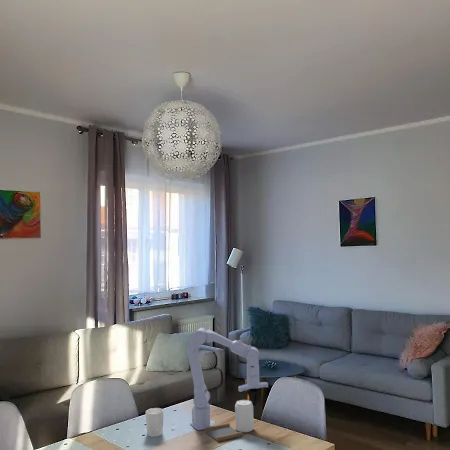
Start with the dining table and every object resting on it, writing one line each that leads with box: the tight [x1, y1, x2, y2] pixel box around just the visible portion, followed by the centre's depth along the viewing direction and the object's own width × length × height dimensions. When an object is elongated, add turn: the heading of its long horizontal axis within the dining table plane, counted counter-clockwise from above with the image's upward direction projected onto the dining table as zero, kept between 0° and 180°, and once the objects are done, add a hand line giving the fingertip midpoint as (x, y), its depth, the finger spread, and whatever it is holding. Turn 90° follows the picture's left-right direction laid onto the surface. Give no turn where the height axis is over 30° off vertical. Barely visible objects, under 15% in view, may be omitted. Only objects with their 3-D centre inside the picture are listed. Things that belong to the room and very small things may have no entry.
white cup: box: [145, 407, 165, 438], centre depth 203 cm, size 8×8×10 cm
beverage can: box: [234, 399, 255, 433], centre depth 206 cm, size 8×8×12 cm
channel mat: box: [204, 422, 243, 443], centre depth 201 cm, size 13×12×2 cm
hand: (253, 405), depth 208 cm, fingers closed
